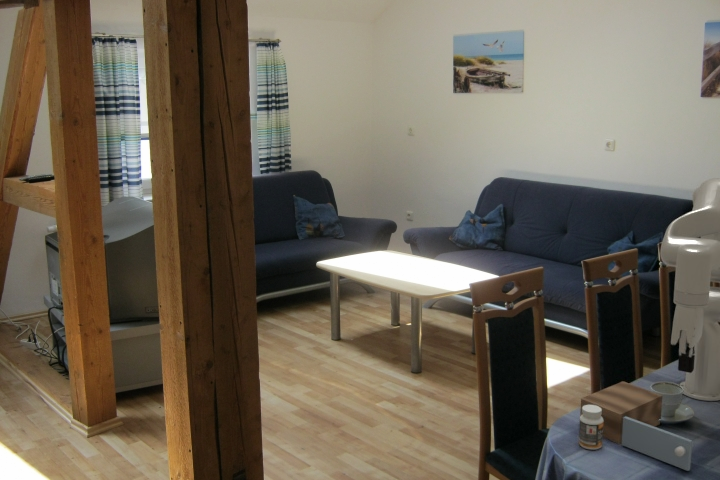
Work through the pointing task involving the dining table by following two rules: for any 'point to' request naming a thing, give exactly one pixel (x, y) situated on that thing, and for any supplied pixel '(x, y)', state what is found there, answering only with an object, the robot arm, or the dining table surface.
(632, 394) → the cabinet
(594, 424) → the pill bottle
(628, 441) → the door
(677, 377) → the dining table surface
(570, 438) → the dining table surface
